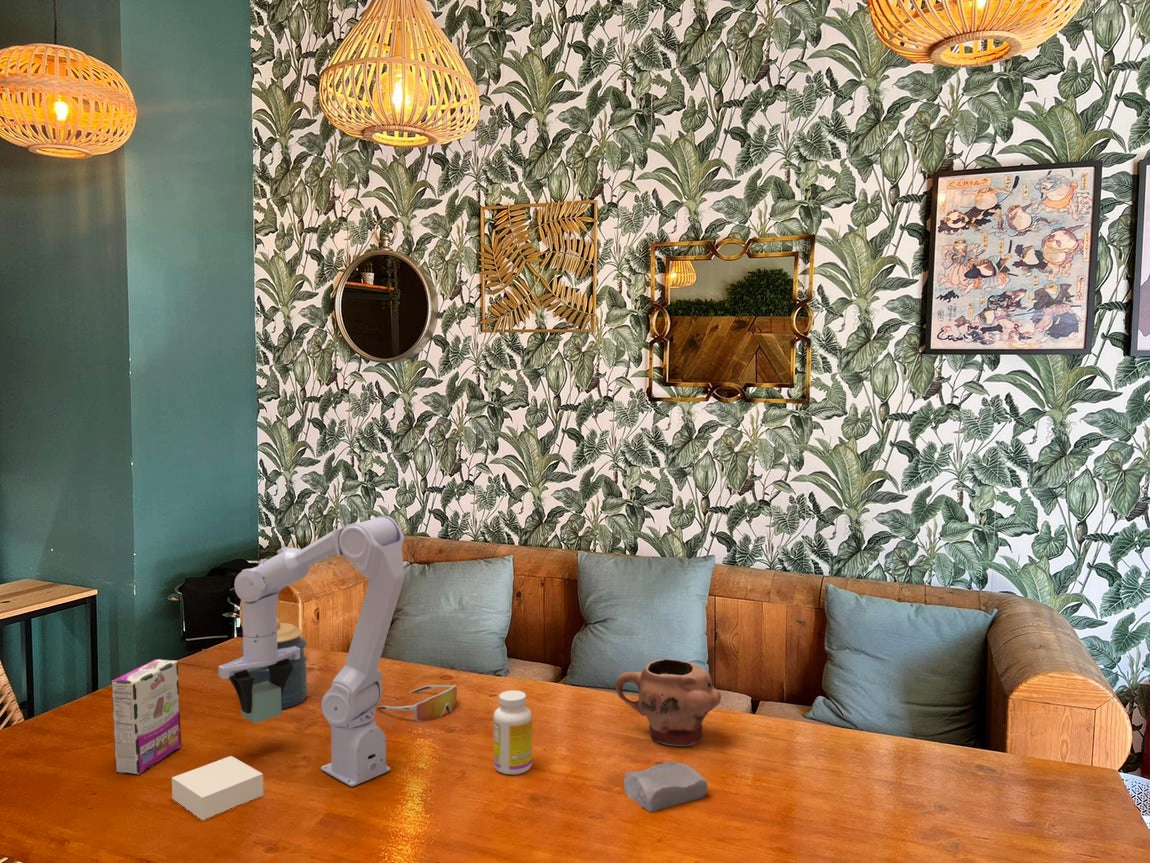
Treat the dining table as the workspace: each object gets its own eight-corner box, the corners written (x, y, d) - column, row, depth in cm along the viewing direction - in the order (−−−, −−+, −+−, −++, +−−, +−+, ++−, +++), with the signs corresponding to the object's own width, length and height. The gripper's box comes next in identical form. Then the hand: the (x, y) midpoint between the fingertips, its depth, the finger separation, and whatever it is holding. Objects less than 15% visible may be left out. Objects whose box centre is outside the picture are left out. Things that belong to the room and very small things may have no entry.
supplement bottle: (538, 763, 146) (538, 691, 145) (520, 779, 140) (520, 705, 139) (505, 755, 148) (505, 685, 148) (486, 771, 142) (486, 698, 142)
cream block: (263, 797, 134) (262, 773, 134) (202, 823, 126) (202, 797, 126) (231, 778, 140) (231, 755, 140) (172, 801, 132) (171, 777, 132)
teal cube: (281, 714, 149) (281, 687, 149) (255, 723, 145) (254, 695, 145) (267, 707, 152) (267, 681, 152) (241, 715, 149) (240, 688, 148)
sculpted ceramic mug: (610, 746, 152) (610, 672, 151) (618, 720, 164) (618, 651, 163) (720, 755, 149) (721, 680, 148) (720, 727, 161) (721, 657, 160)
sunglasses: (425, 728, 160) (422, 702, 160) (370, 722, 168) (367, 697, 168) (471, 704, 172) (468, 680, 172) (418, 699, 180) (415, 677, 180)
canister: (262, 687, 181) (260, 608, 180) (318, 690, 179) (317, 610, 178) (229, 710, 168) (227, 625, 167) (289, 714, 166) (288, 628, 165)
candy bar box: (158, 745, 152) (155, 658, 151) (182, 747, 151) (180, 659, 150) (112, 773, 141) (109, 679, 140) (138, 776, 140) (135, 681, 139)
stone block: (618, 800, 137) (650, 816, 128) (616, 769, 137) (648, 783, 129) (677, 786, 142) (712, 801, 133) (675, 757, 143) (710, 770, 134)
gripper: (285, 619, 156) (287, 690, 157) (209, 637, 145) (211, 713, 146) (305, 627, 151) (307, 699, 152) (228, 646, 141) (230, 724, 141)
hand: (261, 707), depth 149 cm, fingers closed on teal cube, 5 cm apart
